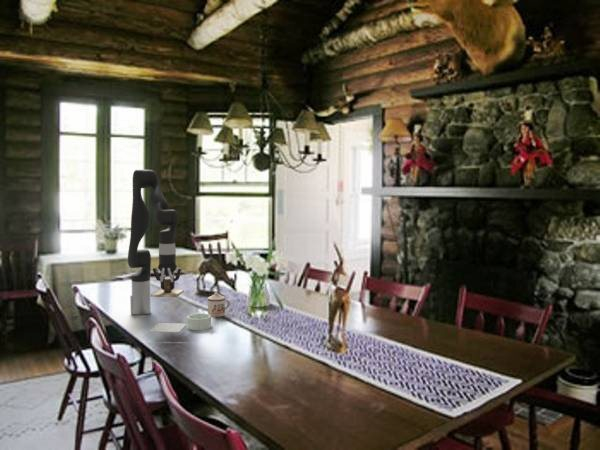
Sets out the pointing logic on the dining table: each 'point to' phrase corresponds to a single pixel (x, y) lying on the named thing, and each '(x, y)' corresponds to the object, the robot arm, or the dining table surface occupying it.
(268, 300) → the glass flower vase
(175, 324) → the mat
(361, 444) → the dining table surface
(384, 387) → the dining table surface
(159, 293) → the cover
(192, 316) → the bowl
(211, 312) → the teacup with lid
